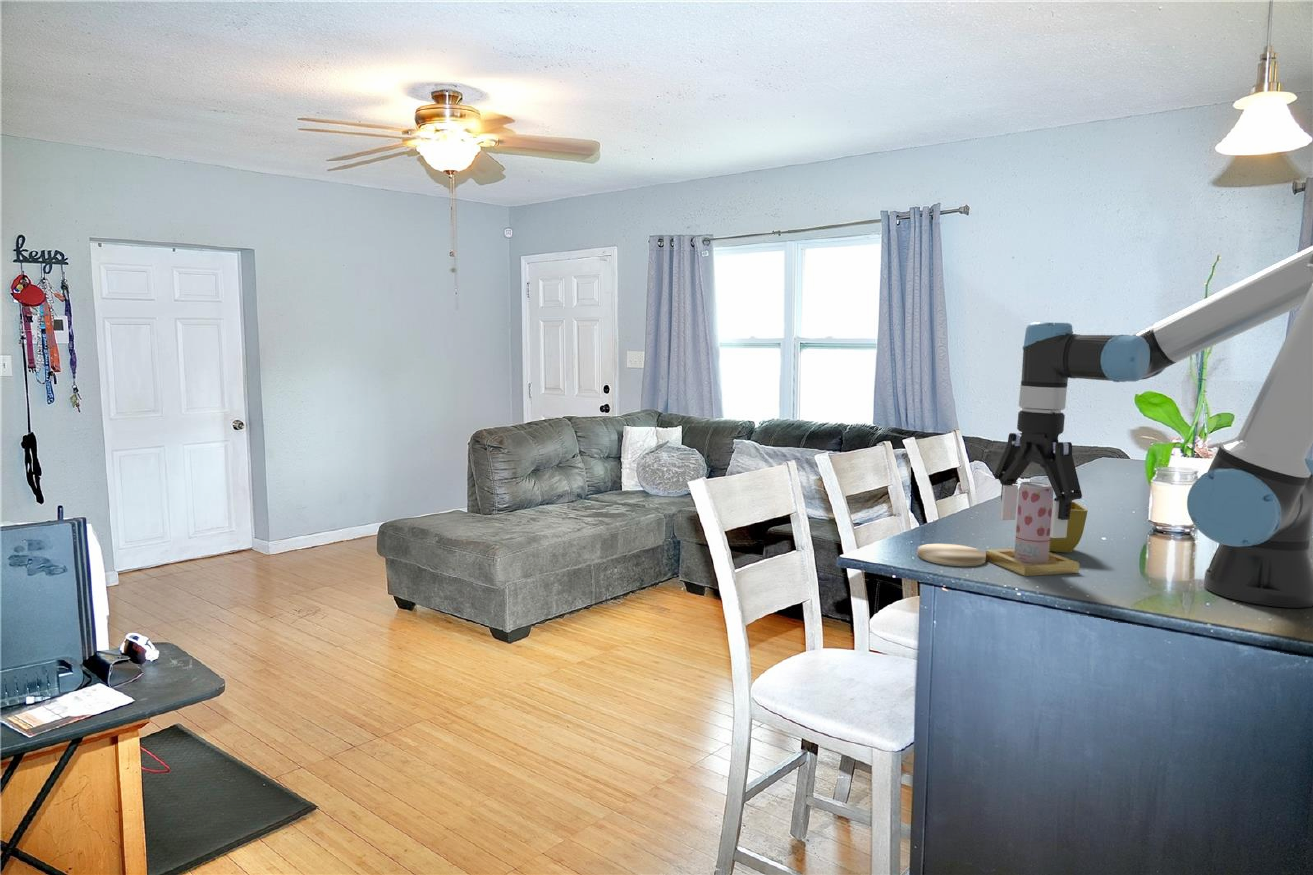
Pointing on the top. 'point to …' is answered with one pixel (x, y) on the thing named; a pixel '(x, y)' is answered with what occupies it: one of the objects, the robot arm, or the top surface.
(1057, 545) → the flower pot
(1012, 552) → the square wooden tray
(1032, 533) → the pink strawberry drink can
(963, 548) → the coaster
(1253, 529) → the robot arm
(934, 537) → the top surface
